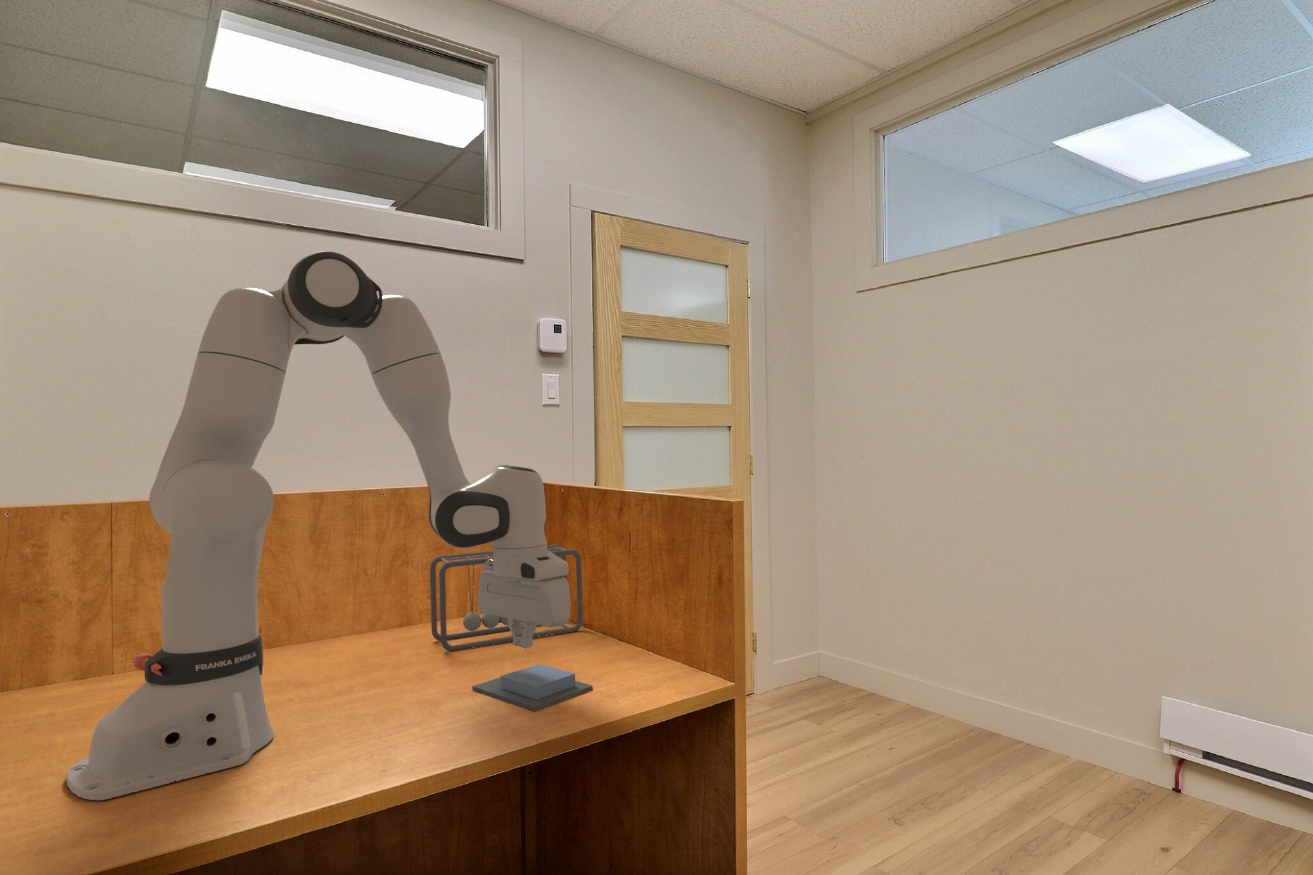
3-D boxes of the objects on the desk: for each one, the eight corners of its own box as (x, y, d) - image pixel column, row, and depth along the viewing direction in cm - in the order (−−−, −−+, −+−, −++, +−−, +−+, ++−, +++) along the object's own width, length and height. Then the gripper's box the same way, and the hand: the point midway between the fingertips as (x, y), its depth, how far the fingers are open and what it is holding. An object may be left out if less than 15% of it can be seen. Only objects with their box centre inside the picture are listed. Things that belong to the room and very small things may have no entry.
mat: (534, 711, 107) (534, 707, 107) (472, 689, 117) (472, 686, 117) (592, 689, 116) (592, 685, 116) (530, 671, 126) (529, 667, 126)
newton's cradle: (566, 621, 163) (564, 543, 163) (584, 631, 154) (581, 548, 154) (431, 641, 149) (429, 556, 149) (441, 653, 139) (439, 562, 140)
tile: (539, 676, 121) (575, 686, 115) (501, 688, 115) (536, 700, 109) (539, 663, 121) (575, 673, 116) (500, 676, 115) (536, 687, 109)
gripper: (467, 560, 123) (470, 641, 122) (545, 571, 109) (548, 661, 109) (497, 555, 127) (500, 633, 127) (575, 565, 114) (578, 651, 114)
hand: (523, 646), depth 118 cm, fingers closed
